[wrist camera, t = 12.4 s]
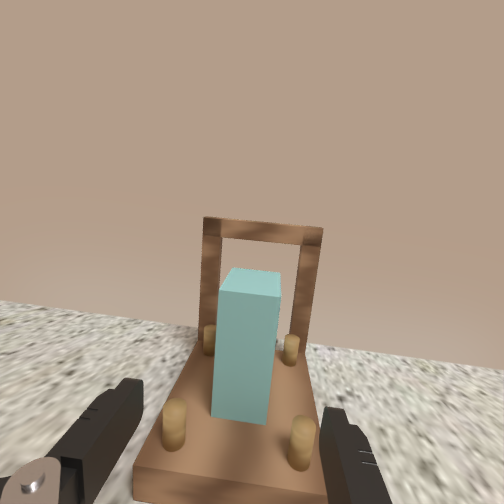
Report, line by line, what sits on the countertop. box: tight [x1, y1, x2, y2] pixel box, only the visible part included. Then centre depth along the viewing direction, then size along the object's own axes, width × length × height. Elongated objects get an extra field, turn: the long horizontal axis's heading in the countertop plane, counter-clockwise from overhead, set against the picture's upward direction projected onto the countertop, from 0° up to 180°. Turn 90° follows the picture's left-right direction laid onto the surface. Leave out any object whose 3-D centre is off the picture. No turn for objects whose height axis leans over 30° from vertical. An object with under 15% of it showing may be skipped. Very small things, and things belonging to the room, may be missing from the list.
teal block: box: [211, 268, 281, 425], centre depth 23 cm, size 4×6×11 cm
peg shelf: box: [133, 217, 329, 504], centre depth 23 cm, size 13×16×18 cm
